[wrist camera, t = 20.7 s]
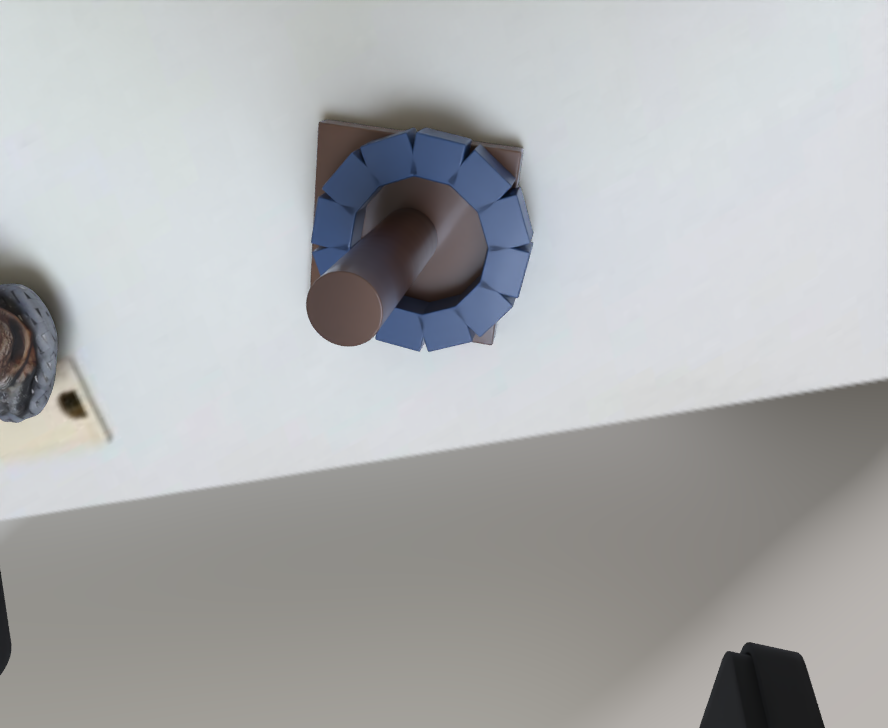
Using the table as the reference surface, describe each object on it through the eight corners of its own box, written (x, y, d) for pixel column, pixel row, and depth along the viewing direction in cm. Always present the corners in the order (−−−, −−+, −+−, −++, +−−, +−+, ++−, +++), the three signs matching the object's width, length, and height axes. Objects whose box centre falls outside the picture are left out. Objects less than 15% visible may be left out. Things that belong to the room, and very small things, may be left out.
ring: (497, 101, 30) (492, 105, 28) (554, 310, 32) (552, 323, 31) (295, 164, 32) (281, 171, 30) (364, 355, 34) (354, 369, 33)
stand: (523, 147, 31) (493, 198, 22) (495, 337, 34) (458, 449, 25) (325, 118, 32) (218, 155, 23) (315, 306, 35) (217, 403, 26)
